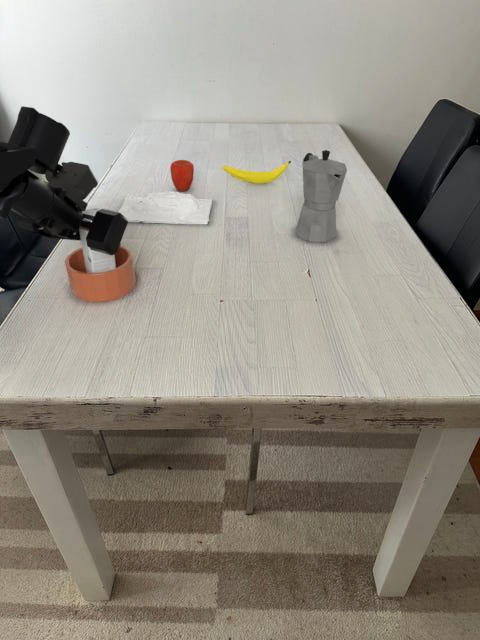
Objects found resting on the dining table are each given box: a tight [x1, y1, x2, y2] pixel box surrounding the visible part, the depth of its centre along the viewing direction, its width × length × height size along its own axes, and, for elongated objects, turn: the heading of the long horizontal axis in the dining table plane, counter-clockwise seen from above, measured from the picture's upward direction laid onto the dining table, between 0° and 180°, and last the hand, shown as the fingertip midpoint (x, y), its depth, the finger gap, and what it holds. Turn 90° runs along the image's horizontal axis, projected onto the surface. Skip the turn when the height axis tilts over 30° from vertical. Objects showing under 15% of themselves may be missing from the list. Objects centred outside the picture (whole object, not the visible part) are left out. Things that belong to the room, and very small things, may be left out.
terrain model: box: [117, 191, 213, 225], centre depth 106 cm, size 17×23×5 cm
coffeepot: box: [295, 149, 348, 244], centre depth 94 cm, size 15×9×18 cm, turn 18°
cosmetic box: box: [79, 207, 116, 273], centre depth 76 cm, size 6×4×12 cm
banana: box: [220, 160, 292, 185], centre depth 122 cm, size 3×19×6 cm, turn 92°
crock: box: [64, 245, 137, 303], centre depth 78 cm, size 11×11×6 cm
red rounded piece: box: [169, 159, 195, 192], centre depth 117 cm, size 6×6×8 cm
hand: (102, 242), depth 76 cm, fingers closed on cosmetic box, 7 cm apart
